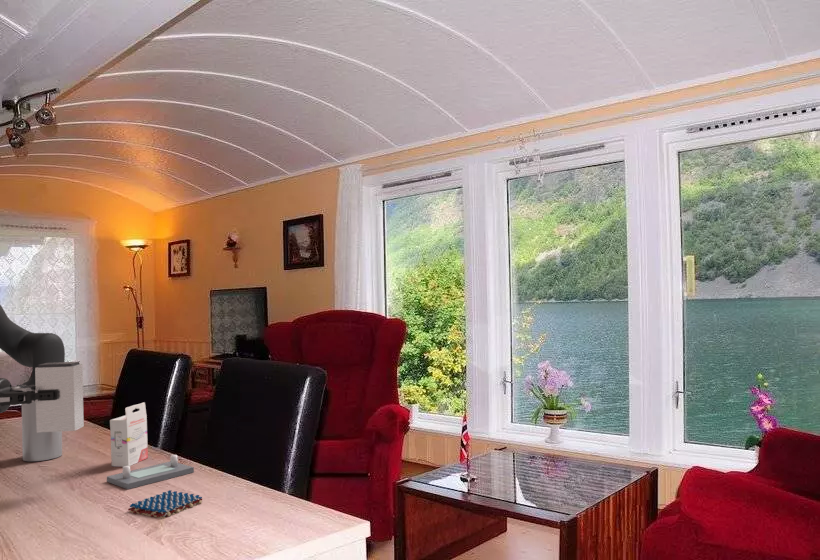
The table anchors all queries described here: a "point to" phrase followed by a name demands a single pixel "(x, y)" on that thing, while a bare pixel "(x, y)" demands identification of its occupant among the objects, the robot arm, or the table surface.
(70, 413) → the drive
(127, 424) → the ink cartridge box
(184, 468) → the pin tray
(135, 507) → the woven mat
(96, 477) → the table surface
